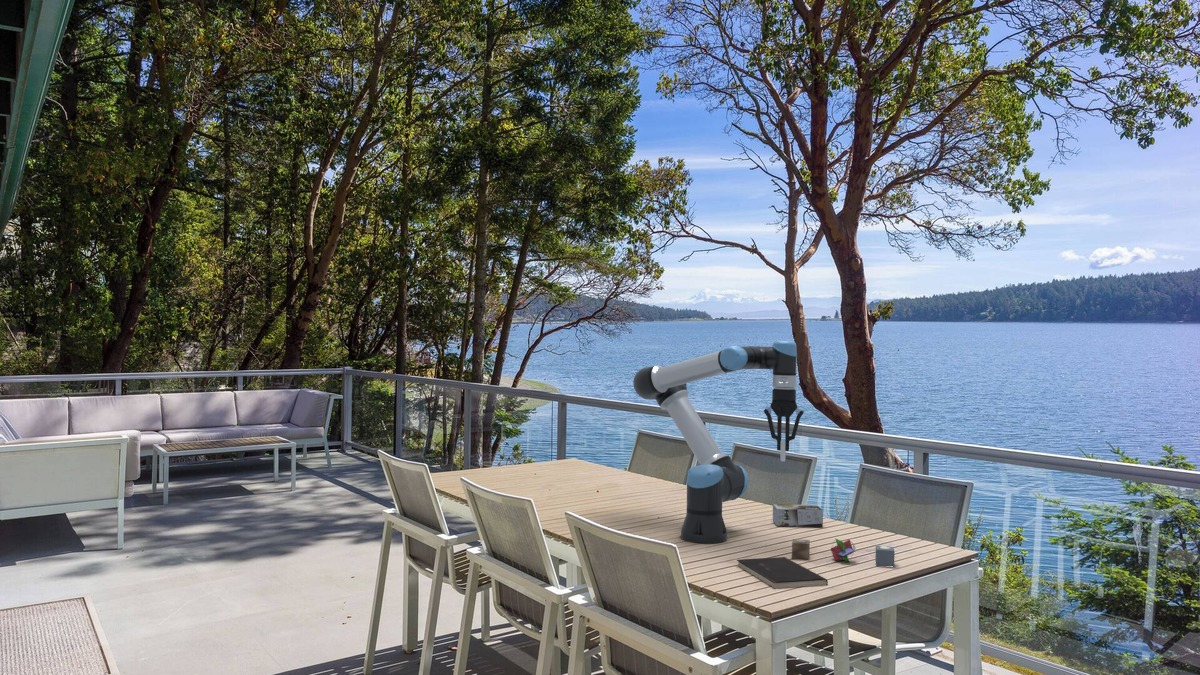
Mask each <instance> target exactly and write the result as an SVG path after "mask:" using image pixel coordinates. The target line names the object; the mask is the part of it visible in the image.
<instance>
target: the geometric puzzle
mask: <svg viewBox="0 0 1200 675" xmlns="http://www.w3.org/2000/svg"><path fill="white" fill-rule="evenodd" d="M833 540H834V541H833V542H836V545H835V546H832V547H830V553H831V554H832V558H833V560H834V562H838V561H840V560H844V561H845V562H847V563H849V564H850V562H851V561H850V560H849V557H848V556H850V555H853V554H854V553H856V552H857V549H856V545H855V544H854V542H852V541H851V539H848V538H847V540H845V541H842V540H841V539H840V540H839V539H838V538H835V539H833ZM852 557H853V556H851V558H850V559H852Z"/></svg>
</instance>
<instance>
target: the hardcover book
mask: <svg viewBox="0 0 1200 675" xmlns="http://www.w3.org/2000/svg"><path fill="white" fill-rule="evenodd" d="M736 561H737V562H738V563H737V565H738V567H739V568H741V569H743V570H744V571H746V572H747V573H749V574H751V575H752V576H754V577H756V578H757V579H759V580H760V581H762V582H764V583H766V584H767V585H769V586H770V587H772V588H773V589H787V588H798V587H799V588H801V587H814V586H815V587H816V586H826V585H827V586H828V579H827V578H826V577H824V576H822V575H819V574H818V573H816V572H814V571H812V570H810V569H809V568H806V567H805V566H802V565H801V564H800V563H797V562H795V561H793V560H791V559H789V558H788V557H785V556H778V557H763V558H762V557H761V558H759V557H758V558H746V559H745V558H743V559H740V558H739V559H736Z"/></svg>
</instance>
